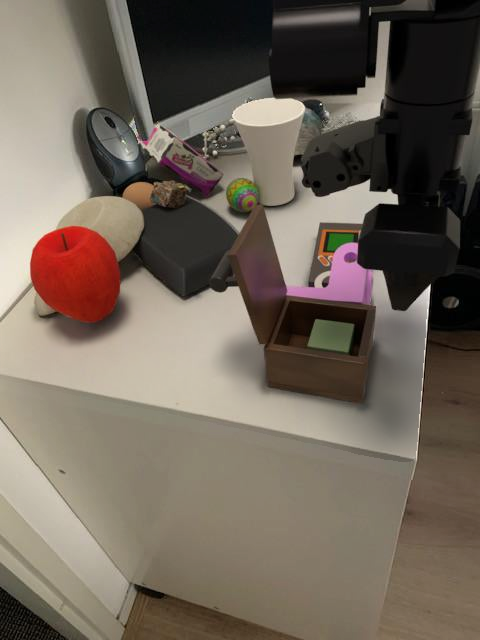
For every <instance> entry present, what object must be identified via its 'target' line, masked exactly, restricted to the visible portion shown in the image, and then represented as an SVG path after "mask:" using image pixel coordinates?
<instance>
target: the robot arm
mask: <svg viewBox="0 0 480 640" xmlns="http://www.w3.org/2000/svg"><path fill="white" fill-rule="evenodd" d="M272 2H273V11H272V19H271V20H272V21H271V48H270V50H269V52H268V69H269V71H268V72H269V81H270V85H271V91H272V95H273V98H275V99H309V98H310V99H311V98H330V97H351V96H358V92H359V90H358V89H365V88H366V83H367V79H375V78H376V75H377V62H378V61H377V60H378V46H379V31H380V30H379V29H380V23H383V22H385V23H386V22H389V30H388V44H387V54H386V55H387V57H386V69H385V81H384V84H385V85H384V93H383V98H382V99H381V102H380V107H379V115H377V116H374V117H372V118H369V119H365V120H364V119H363V120H360V121H358V122H356V121H355V122H354V123H353V122H352V124H351V123H350V124H348V125H346V124H345V125H346V126H344V125H342V127H341V126H340V128H337V127H336V128H337V129H334V128H333V129H334V130H333V129H331V130H328V131H327V132H326V133H325V132H324V133H323V132H322V134H320V135H318V136H316V137H314V138H313V139H312V140H311V141H310V142H309V143H308V145H307V147H306V149H305V151H304V153H303V155H302V154H301V157H300V163H301V166H300V168H301V170H302V179H301V184H302V186H303V187H304V188H306V189H311V192H312V193H313V194H314V196H315V197H316V198H323V197H328V196H330V195H331V194H334V193H338V192H342V191H345V190H347V189H349V188H351V187H355V186H358V185H359V186H360V185H361V184H364V183H366V182H368V181H369V190H368V191H369V192H373V193H387V192H388V191H389V190H390V192H391V193H392V194H394V195H397V203H381V202H380V203H378V204H377V205H375V206H374V207H372V208H371V209H369V210H368V211H367V212H366V213H365V214H364V217H363V221H362V223H361V224H362V228H361V232H360V236H359V240H358V253H357V264H359V265H360V266H361V267H362V268H364V269H370V270H371V271H381V272H382V274H383V277H384V281H385V284H386V290H387V294H388V298H389V302H390V307H391V310H392V311H397V312H406V311H407V310H409V308H410V307H411V306H412V305H413V304H414V303H415V302H416V301H417V300H418V298H420V296H421V295H422V294H423V293H424V292H425V291H426V290H427V289H428V288H429V287H430V286H431V285H432V284H433V283H434V282H435V281H436V280H437V279H438V278H441V277H443V278H447V276H450V275H453V274H455V272H456V268H457V263H458V259H459V254H460V250H461V220H460V218H459V217H458V216H457V215H456V214H455V213H454V212H453V211H452V210H451V209H450V208H449V207H448V206H440V204H441V202H442V201H443V200H442V199H443V198H445V195H446V194H447V193H453V194H457V193H459V189H460V184H461V180H462V179H461V178H462V177H461V174H462V172H461V171H462V166H461V165H462V160H463V155H464V150H465V146H466V139H467V136H470V134H471V129H472V125H473V103H474V98H475V93H476V89H477V84H478V78H479V74H480V0H272Z"/></svg>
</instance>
